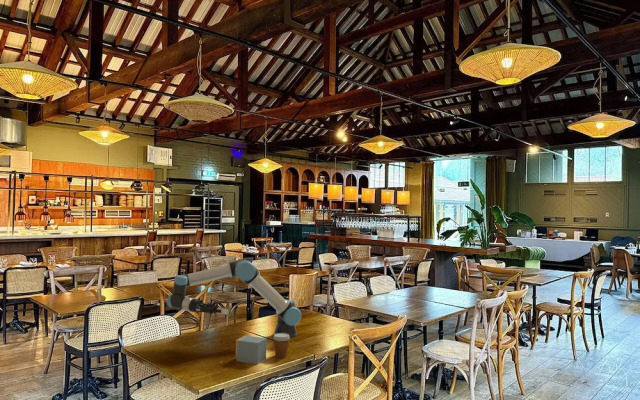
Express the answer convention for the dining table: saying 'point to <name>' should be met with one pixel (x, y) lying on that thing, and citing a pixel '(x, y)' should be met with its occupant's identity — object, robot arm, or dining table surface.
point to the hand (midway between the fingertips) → (227, 311)
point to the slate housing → (251, 349)
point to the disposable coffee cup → (281, 344)
